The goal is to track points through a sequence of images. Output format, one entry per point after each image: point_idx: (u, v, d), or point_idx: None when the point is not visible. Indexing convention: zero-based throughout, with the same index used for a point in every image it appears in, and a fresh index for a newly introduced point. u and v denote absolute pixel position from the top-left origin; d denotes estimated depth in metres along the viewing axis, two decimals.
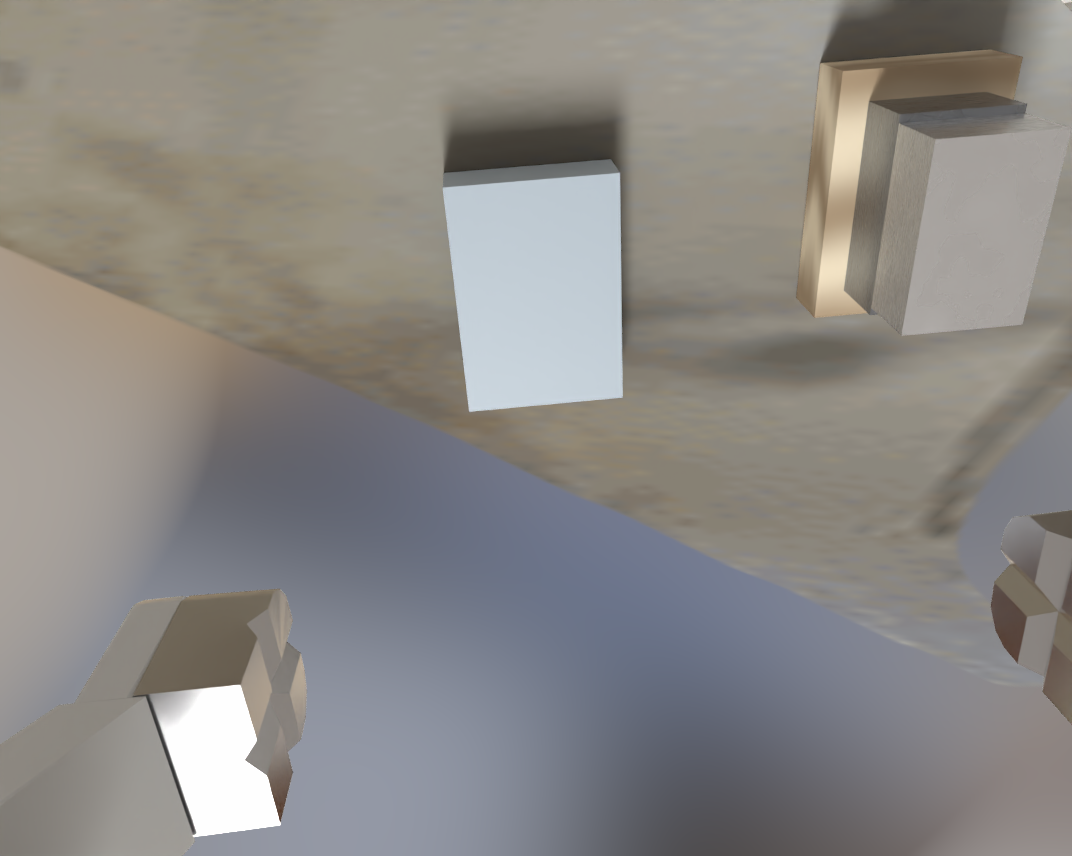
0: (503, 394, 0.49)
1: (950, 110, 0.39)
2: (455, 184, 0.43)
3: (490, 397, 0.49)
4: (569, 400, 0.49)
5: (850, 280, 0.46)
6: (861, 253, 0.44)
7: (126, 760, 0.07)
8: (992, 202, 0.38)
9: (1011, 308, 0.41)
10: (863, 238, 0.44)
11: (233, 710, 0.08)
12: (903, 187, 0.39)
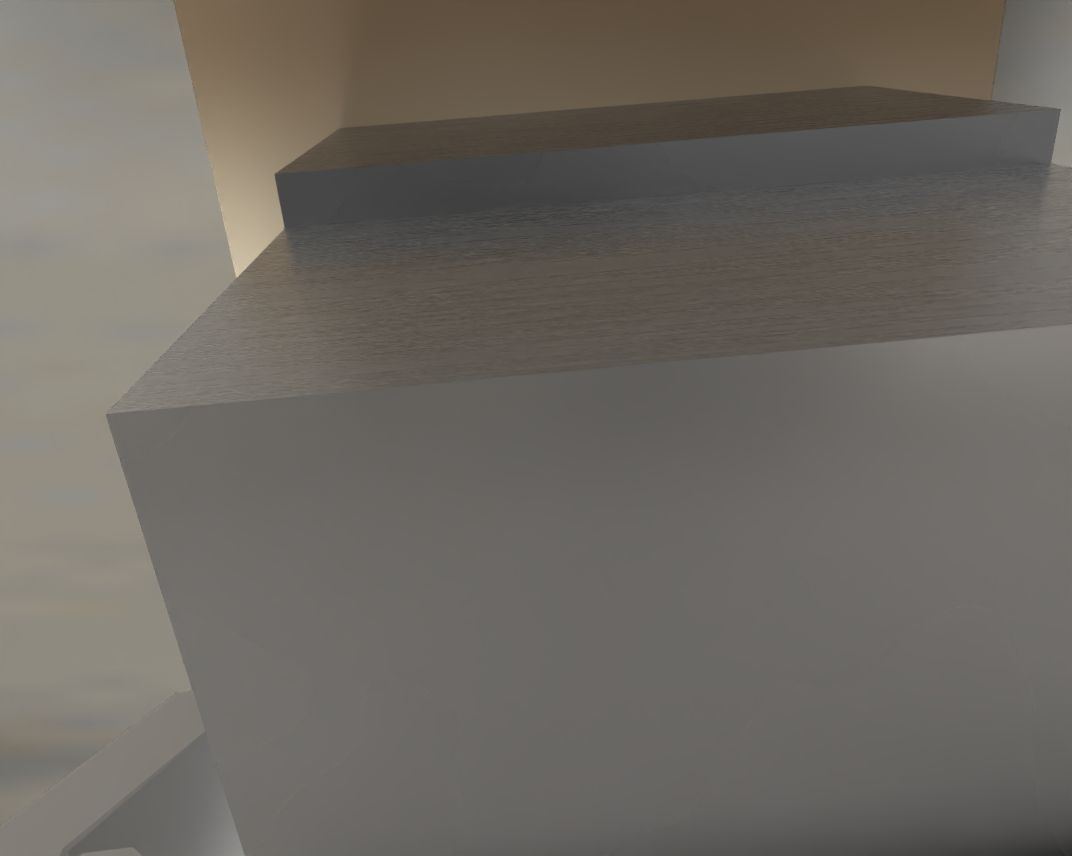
0: None
1: (593, 150, 0.06)
2: None
3: None
4: None
5: None
6: None
7: None
8: (839, 855, 0.05)
9: None
10: None
11: None
12: None
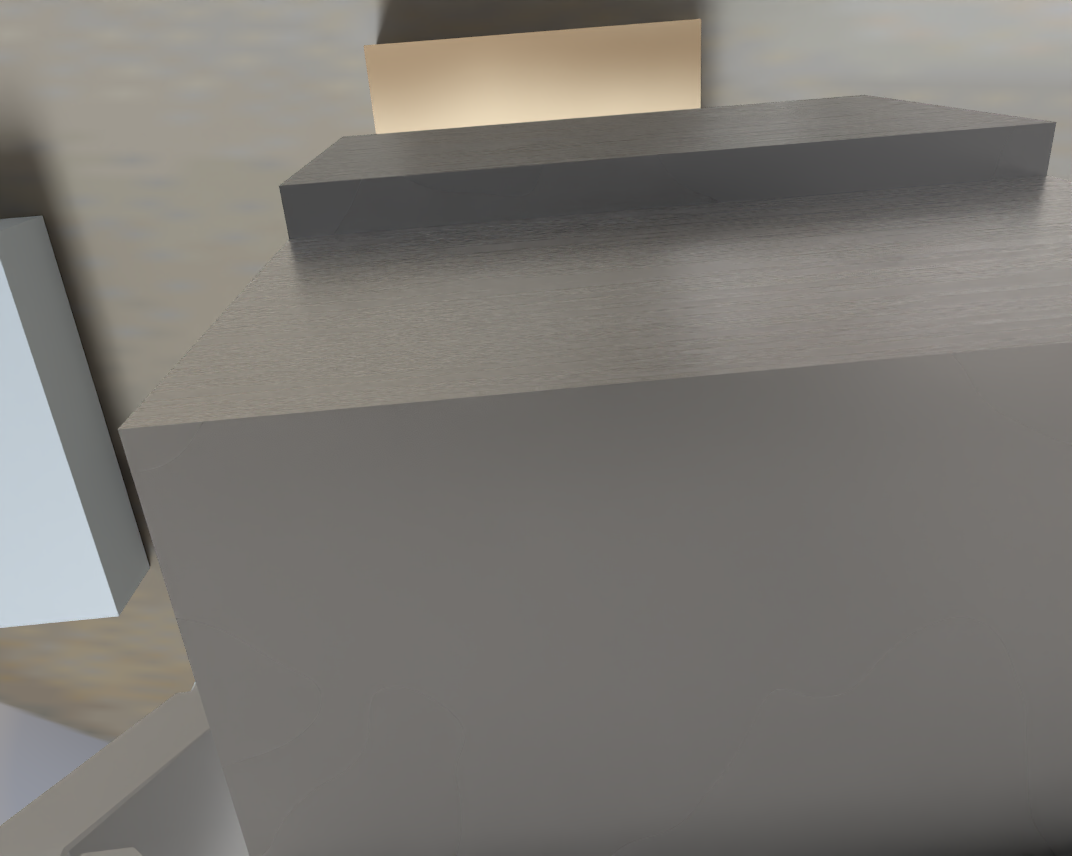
0: None
1: (595, 162, 0.06)
2: None
3: None
4: (25, 622, 0.29)
5: None
6: None
7: None
8: None
9: None
10: None
11: None
12: None
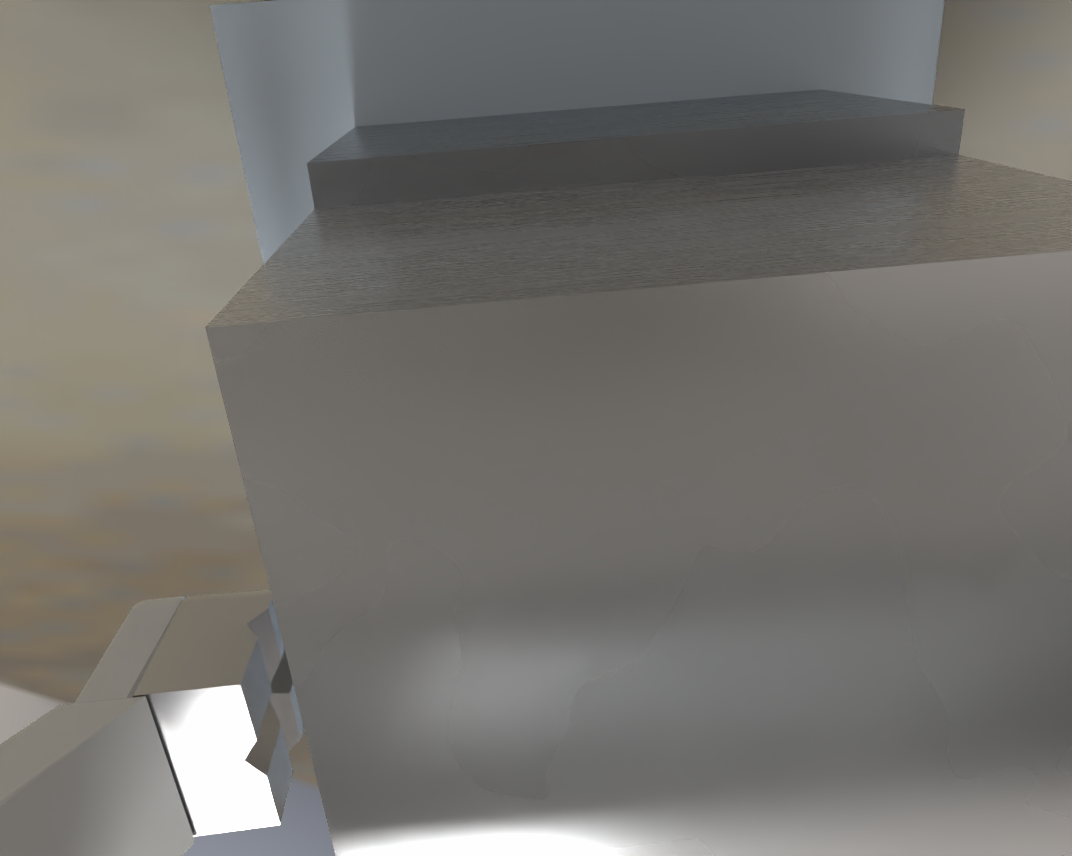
0: None
1: (573, 143, 0.08)
2: (272, 2, 0.10)
3: None
4: None
5: None
6: None
7: (126, 760, 0.07)
8: (759, 696, 0.06)
9: None
10: None
11: (233, 710, 0.08)
12: None
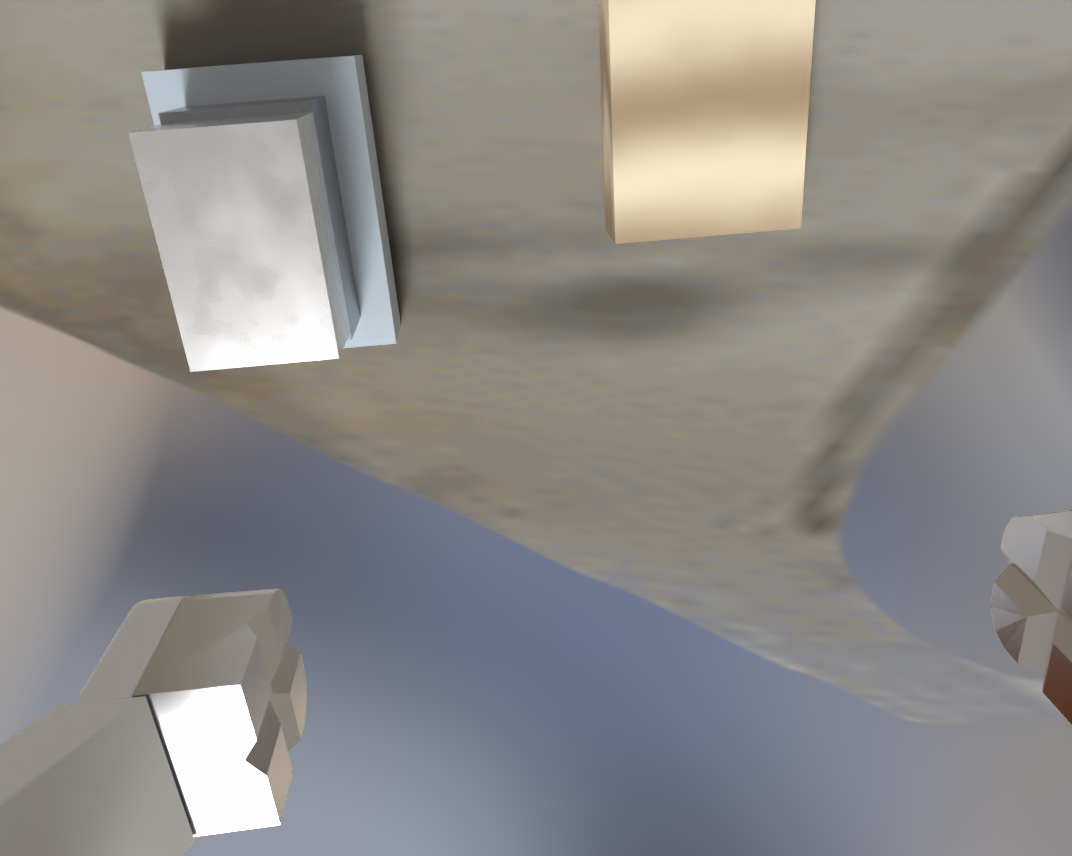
0: None
1: (219, 108, 0.33)
2: (160, 70, 0.36)
3: None
4: None
5: None
6: None
7: (126, 760, 0.07)
8: (234, 209, 0.32)
9: (316, 339, 0.34)
10: None
11: (233, 710, 0.08)
12: None
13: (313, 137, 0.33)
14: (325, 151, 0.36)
